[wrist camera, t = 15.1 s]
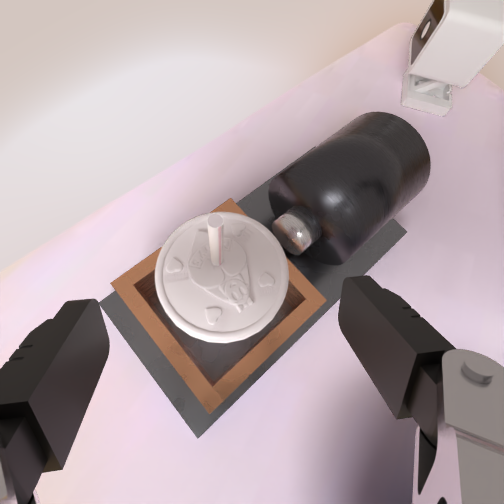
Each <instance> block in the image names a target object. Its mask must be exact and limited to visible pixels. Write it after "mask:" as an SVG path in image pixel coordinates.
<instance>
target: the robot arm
mask: <svg viewBox="0 0 504 504" xmlns="http://www.w3.org/2000/svg"><path fill="white" fill-rule="evenodd" d="M338 321H339V326H340V329H341V331H342V333H343V335H344V336H345V338H346V340H347V341H348V343H349V344H350V346H351V348H352V349H353V351H354V352H355V354H356V356H357V357H358V359H359V360H360V362H361V364H362V365H363V367H364V368H365V370H366V372H367V373H368V375H369V376H370V378H371V380H372V381H373V383H374V384H375V386H376V387H377V389H378V391H379V392H380V394H381V395H382V397H383V399H384V400H385V402H386V403H387V405H388V407H389V408H390V410H391V411H392V413H393V415H394V416H395V418H396V419H403V418H410V417H413V418H414V419H415V421H416V422H417V424H418V426H417V429H416V433H415V454H414V476H413V497H412V504H504V367H503V366H501V365H500V364H498V363H497V362H495V361H494V360H492V359H490V358H488V357H486V356H484V355H482V354H479V353H476V352H473V351H469V350H463V349H456V348H455V347H454V346H453V345H452V344H451V343H450V342H448V341H447V340H446V339H445V338H444V337H443V336H442V335H441V334H440V333H439V332H438V331H437V330H436V329H434V328H433V327H432V326H431V325H430V324H429V323H428V322H427V321H426V320H425V319H424V318H423V317H420V315H419V314H418V313H417V312H416V311H415V310H414V309H411V306H410V305H409V304H408V303H407V302H406V301H404V300H403V299H402V298H401V297H400V296H398V295H397V294H395V293H393V292H391V291H389V290H387V289H385V288H384V289H382V288H381V287H380V286H379V285H378V284H377V283H376V282H375V281H374V280H373V279H372V278H371V277H370V276H367V275H366V276H355V277H346V278H345V279H344V281H343V285H342V292H341V299H340V306H339V313H338ZM109 347H110V345H109V337H108V333H107V330H106V326H105V323H104V319H103V316H102V312H101V309H100V306H99V303H98V301H97V300H96V299H84V300H72V301H67V302H65V304H64V305H63V306H62V307H61V309H60V310H59V311H58V313H57V314H56V315H55V317H54V318H53V319H48V320H46V321H45V322H43V323H42V324H41V325H39V326H38V327H37V328H35V329H34V330H33V331H31V332H30V333H29V334H28V336H27V337H26V338H25V339H24V341H23V342H22V343H21V344H20V346H19V349H16V351H15V352H14V353H13V354H12V355H11V357H10V358H9V361H8V362H6V363H5V364H4V365H3V367H2V368H1V369H0V504H40V501H39V497H38V494H37V492H36V490H35V487H36V485H37V483H38V480H39V478H40V476H41V474H42V473H44V472H50V471H57V470H63V467H64V465H65V462H66V460H67V457H68V455H69V452H70V450H71V447H72V445H73V442H74V440H75V437H76V435H77V433H78V430H79V428H80V425H81V423H82V420H83V418H84V415H85V413H86V410H87V408H88V405H89V403H90V400H91V398H92V395H93V393H94V391H95V388H96V386H97V383H98V381H99V378H100V376H101V373H102V371H103V368H104V366H105V363H106V361H107V358H108V355H109Z"/></svg>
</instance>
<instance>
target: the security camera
mask: <svg viewBox="0 0 504 504" xmlns="http://www.w3.org/2000/svg"><path fill="white" fill-rule="evenodd" d="M503 44H504V0H433V1H432V3H431V5H430V6H429V8H428V10H427V11H426V13H425V15H424V16H423V18H422V20H421V22H420V23H419V25H418V27H417V28H416V30H415V32H414V33H413V35H412V37H411V40H410V45H409V60H408V69H407V70H406V72H405V73H404V75H403V84H402V97H401V105H402V106H405V107H409V108H412V109H416V110H420V111H424V112H427V113H431V114H435V115H438V116H442V117H444V116H445V115H446V114H447V113H448V112H449V110H450V109H451V108H452V94H450V92H452V85H454V86H458V87H459V88H464V87H466V86H467V85H468V83H469V82H470V81H471V80H472V79H473V78H474V77H475V76H476V75H477V73H478V72H479V71H480V70H481V69H482V68H483V66H485V65H486V63H487V62H488V61H489V60H490V59H491V58H492V57H493V56H494V54H495V53H496V52H497V51H498V50H499V49H500V48H501V47H502V46H503ZM433 96H435V97H433Z"/></svg>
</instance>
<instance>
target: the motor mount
mask: <svg viewBox="0 0 504 504" xmlns="http://www.w3.org/2000/svg"><path fill="white" fill-rule="evenodd" d="M429 175H430V156H429V152H428V149H427V146H426V144H425V142H424V140H423V139H422V137H421V136H420V134H419V133H418V132H417V131H416V129H415V128H413V127H412V126H411V125H410V124H409V123H408V122H406V121H405V120H403V119H401V118H400V117H398V116H395V115H393V114H389V113H385V112H370V113H366V114H363V115H361V116H359V117H357V118H356V119H354V120H353V121H351V122H350V123H349V124H347V125H346V126H345V127H343V128H342V129H340V130H339V131H338V132H336V133H335V134H333V135H332V136H331V137H329V138H328V139H327V140H325V141H324V142H322V143H321V144H320V145H318V146H317V147H314V148H312V149H311V150H310V151H308V152H307V153H305V154H304V155H303V156H301V157H300V158H298V159H297V160H296V161H294V162H293V163H292V164H290V165H289V166H287V167H286V168H285V169H283V170H282V171H280V172H279V173H278V174H276V175H275V176H274V177H272V178H271V179H269V180H268V181H267V182H265V183H264V184H262V185H261V186H260V187H258V188H257V189H256V190H254V191H253V192H251V193H250V194H249V195H247V196H246V197H244V198H243V199H242V200H240V201H239V202H238V203H235V202H234V201H233V200H232V199H231V198H230V199H228V200H227V201H226V202H224V203H223V204H221V205H220V206H219V207H217V208H216V209H214V210H213V211H212V212H210V213H213V212H232V213H237V214H241V215H244V216H247V217H250V218H252V219H254V220H256V221H257V222H259V223H261V224H262V225H263V226H265V227H266V228H267V229H268V230H269V231H270V232H271V233H272V234H273V235H274V236H275V237H276V239H277V240H278V242H279V243H280V245H281V247H282V248H283V251H284V253H285V256H286V259H287V263H288V270H289V282H288V288H287V293H286V296H285V298H284V301H283V303H282V305H281V307H280V309H279V310H278V312H277V313H276V315H275V317H274V318H273V320H272V321H270V322H269V323H268V324H267V325H266V326H265V327H264V328H263V329H262V330H261V331H259V332H258V333H256V334H254V335H252V336H250V337H248V338H246V339H244V340H239V341H234V342H230V343H215V342H206V341H204V340H201V339H198V338H195V337H192V336H190V335H189V334H187V333H186V332H185V331H183V330H182V329H180V328H179V327H177V326H176V325H175V323H174V322H173V321H172V320H171V318H170V317H169V316H168V315H167V313H166V312H165V310H164V308H163V306H162V304H161V303H160V300H159V297H158V294H157V291H156V285H155V268H156V263H157V259H158V256H159V253H160V251H161V249H162V247H163V246H162V247H161V248H159V249H158V250H156V251H155V252H154V253H152V254H151V255H149V256H148V257H147V258H145V259H144V260H142V261H141V262H140V263H138V264H137V265H135V266H134V267H133V268H131V269H130V270H128V271H127V272H125V273H124V274H123V275H121V276H120V277H118V278H117V279H116V280H114V281H113V282H111V283H110V284H111V285H112V286H113V288H114V289H115V290H116V291H114V292H113V293H111V294H110V295H109V296H107V297H106V298H104V299H103V300H102V301H100V302H99V305H100V306H101V307H102V309H103V310H104V311H105V313H106V314H107V315H108V317H109V318H110V320H111V321H112V322H113V324H114V325H115V326H116V328H117V329H118V330H119V332H120V333H121V335H122V336H123V337H124V339H125V340H126V341H127V343H128V344H129V346H130V347H131V348H132V350H133V351H134V352H135V354H136V355H137V356H138V358H139V359H140V361H141V362H142V363H143V365H144V366H145V367H146V369H147V370H148V371H149V373H150V374H151V376H152V377H153V378H154V380H155V381H156V382H157V384H158V385H159V386H160V388H161V389H162V391H163V392H164V393H165V395H166V396H167V397H168V399H169V400H170V401H171V403H172V404H173V406H174V407H175V408H176V410H177V411H178V412H179V414H180V415H181V416H182V418H183V419H184V421H185V422H186V423H187V425H188V426H189V427H190V429H191V430H192V431H193V433H194V434H195V436H196V437H197V438H199V437H200V436H201V435H202V434H203V433H204V432H205V431H206V430H207V429H208V428H209V427H210V426H211V425H212V424H213V423H214V422H215V421H216V420H217V419H218V418H219V417H220V416H221V415H222V414H223V413H224V412H226V411H227V410H228V409H229V408H230V407H231V406H232V405H233V404H234V403H235V402H236V401H237V400H238V399H239V398H240V397H241V396H242V395H243V394H244V393H245V392H246V391H247V390H248V389H249V388H250V387H251V386H252V385H253V384H254V383H255V382H256V381H257V380H258V379H259V378H260V377H261V376H262V375H263V374H264V373H265V372H266V371H267V370H268V369H269V368H270V367H271V366H272V365H273V364H274V363H275V362H276V361H277V360H278V359H279V358H280V357H281V356H282V355H283V354H284V353H285V352H286V351H287V350H288V349H289V348H290V347H291V346H292V345H293V344H294V343H295V342H296V341H297V340H298V339H299V338H300V337H301V336H302V335H303V334H304V333H305V332H307V331H308V330H309V329H310V328H311V327H312V326H313V325H314V324H315V323H316V322H317V321H318V320H319V319H320V318H321V317H322V316H323V315H324V314H325V313H326V312H327V311H328V310H329V309H330V308H331V307H332V306H333V305H334V304H335V303H336V302H337V301H338V300H339V299H340V298H341V292H342V285H343V281H344V279H345V278H346V277H355V276H363V275H364V274H365V273H366V272H367V271H368V270H369V269H370V268H371V267H372V266H373V265H374V264H375V263H376V262H377V261H378V260H379V259H380V258H381V257H382V256H383V255H384V254H385V253H386V252H388V251H389V250H390V249H391V248H392V247H393V246H394V245H395V244H396V243H397V242H398V241H399V240H400V239H401V238H402V237H403V236H404V235H405V234H406V233H407V231H406V230H405V229H404V228H403V227H401V226H400V225H399V224H398V223H397V222H396V221H395V220H394V219H393V217H394V216H395V215H396V214H397V213H398V212H399V211H400V210H401V209H402V208H404V207H405V206H406V205H407V204H408V203H409V202H410V201H411V200H412V199H413V198H414V197H415V196H416V195H417V194H418V193H419V192H420V191H421V190H422V189H423V188H424V187H425V185H426V183H427V181H428V178H429Z"/></svg>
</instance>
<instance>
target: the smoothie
mask: <svg viewBox="0 0 504 504" xmlns="http://www.w3.org/2000/svg"><path fill="white" fill-rule="evenodd" d="M288 282H289V270H288V263H287V259H286V256H285V253H284V251H283V248H282V247H281V245H280V243H279V242H278V240H277V239H276V237H275V236H274V235H273V234H272V233H271V232H270V231H269V230H268V229H267V228H266V227H265V226H263V225H262V224H261V223H259V222H257V221H256V220H254V219H252V218H250V217H247V216H244V215H241V214H237V213H232V212H213V213H207V214H203V215H200V216H197V217H195V218H193V219H191V220H189V221H187V222H185V223H184V224H182V225H181V226H180V227H178V228H177V229H176V230H175V231H174V232H173V233H172V234H171V235H170V236H169V238H168V239H167V240H166V242H165V243H164V245H163V247H162V249H161V251H160V253H159V256H158V259H157V263H156V268H155V285H156V291H157V294H158V297H159V300H160V303H161V304H162V306H163V308H164V310H165V312H166V313H167V315H168V316H169V317H170V318H171V320H172V321H173V322H174V323H175V325H176V326H177V327H179V328H180V329H182V330H183V331H185V332H186V333H187V334H189V335H190V336H192V337H195V338H198V339H201V340H204V341H206V342H215V343H230V342H234V341H239V340H244V339H246V338H248V337H250V336H252V335H254V334H256V333H258V332H259V331H261V330H262V329H263V328H264V327H265V326H266V325H267V324H268V323H269V322H270V321H272V320H273V318H274V317H275V315H276V313H277V312H278V310H279V309H280V307H281V305H282V303H283V301H284V298H285V296H286V293H287V288H288Z"/></svg>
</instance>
